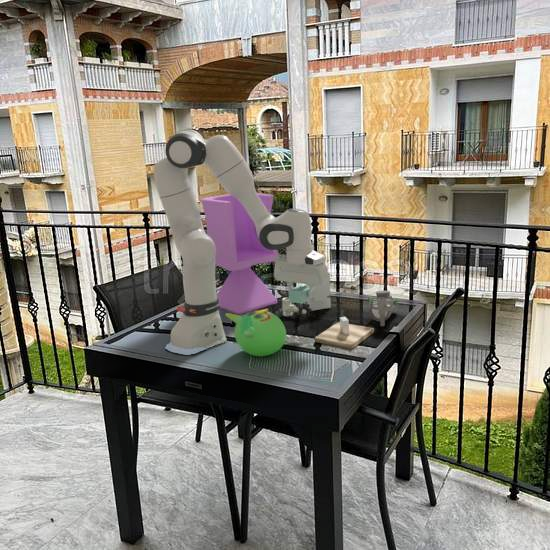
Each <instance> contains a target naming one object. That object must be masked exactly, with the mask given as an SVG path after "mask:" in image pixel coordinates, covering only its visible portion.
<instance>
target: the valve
mask: <svg viewBox="0 0 550 550" xmlns="http://www.w3.org/2000/svg"><path fill="white" fill-rule="evenodd" d="M301 305H302V306H299V307H297V305H296V304H293V302H289V297H283V298H282V299H281V309H282V315H283V316H284V317H291V316H292V315H293V313H296V314H297V316H300V317H299V318H298V319H299V320H301V321H302V320H303V321H307V320H308V319H307V318H310V317H311V314H310V312H312V310H311V309H310V308H309V306H310V305H309V304H307V303H303V304H301Z"/></svg>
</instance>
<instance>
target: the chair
mask: <svg viewBox="0 0 550 550" xmlns="http://www.w3.org/2000/svg"><path fill="white" fill-rule="evenodd" d="M257 194H258V196H259V198H260V199H261V201H262V203H263V204H264V206H265V207H266V209H267V210H268V212H269V213H270V214H272V209H273V208H272V207H273V202H274V197H275V196H274V194H270V193H269V194H266V193H258V192H257ZM200 201H201V204H202V208H203V211H204V215H205V216H204V217H205V220H206V223H205V224H206V234H207V235H208V236H209V237H210V238H211V239H212V240H213V242H214V244H215V248H216V255H215V266H218V267H220V268H222V269H224V270H226V271H229V272H230V273H229V274H228V276H227V277H226V279H225V280H224V282H223V284H222V286H221V287H220V289H219V290H218V292H217V298H218V300H219V309H222V310H225V311H227V312H228V313H231V314H235V315H240V316H242V315H243V314H244V315H245V314H247V313H250V312H253V311H258V310H262V309H264V308H266V307H270V306H273V305H276V304H278V299H277V298H276V297H275V295H274V294H273V293H272V292H271V290H270V289H269V288H268V287H267V286H266V284H264V282H263V281H262V280H261V279H260V278H259V277H258V275H257V273H255V272H254V270H252V268H251V267H252V266H256V265H259V264H266V263H273V262H275V257H276V256H277V255H278V254H279V251H278V249H277V250H269V249H266V248H265V247H263V246H262V244H261V243H260V241H259V239H258V238H257V236H256V233H255V226H254V223H253V220H252V219H251V217H250V216H249V214H248V213H247V211H246V209H245V208H244V206H243V205H242V204H241V202H240V201H239V200H238V199H236V198H235V197H233V196H232V195H230V194H229V193H227V194H223V195H222V194H221V195H216V196H210V197H204V198H203V197H202V198H201V200H200Z"/></svg>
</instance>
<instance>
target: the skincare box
mask: <svg viewBox="0 0 550 550" xmlns="http://www.w3.org/2000/svg"><path fill="white" fill-rule="evenodd" d="M306 285H307V284H306ZM307 286H309V285H307ZM313 295H314V298H312V299H310V300H308V301H306V302H307V303H306V304H309V305H310V306H309V308H310V309H311V312H312V311H318V310H319V311H320V310H324V309H330V308H331V307H332V306H331V304H332V302H331V273H330V271H328V282H327V284H326V285H324V286H315V288H314V290H313Z"/></svg>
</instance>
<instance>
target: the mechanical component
mask: <svg viewBox="0 0 550 550" xmlns="http://www.w3.org/2000/svg"><path fill="white" fill-rule="evenodd" d="M392 298H393V297H392ZM392 298H383V297H381V298H378V300H377V299H376V300H377V301H374V297H368V298H367V303H368V305H369V306H368V308H369V307H370V308H371V309H376V310H379V314H380V321H379V323H380V325H379V326H380V327H384V326H385V325H386V320H385V314H386V311H391V310H392V309H394V308H395V305H397V303H398V300H396V298H394V299H392ZM395 300H396V301H395ZM387 302H388V303H389V305H388V303H387ZM374 305H378V306H374Z"/></svg>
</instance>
